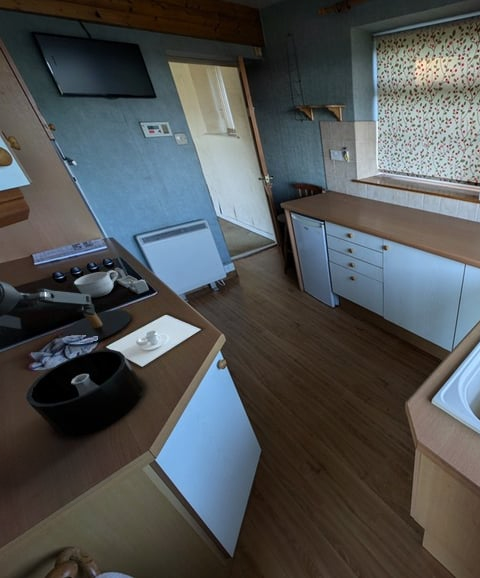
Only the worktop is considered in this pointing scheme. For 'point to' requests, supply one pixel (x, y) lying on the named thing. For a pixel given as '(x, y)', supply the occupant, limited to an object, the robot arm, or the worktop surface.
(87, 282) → the teacup
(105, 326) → the lid
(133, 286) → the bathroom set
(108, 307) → the worktop surface
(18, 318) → the robot arm
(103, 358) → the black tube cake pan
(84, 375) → the flask
